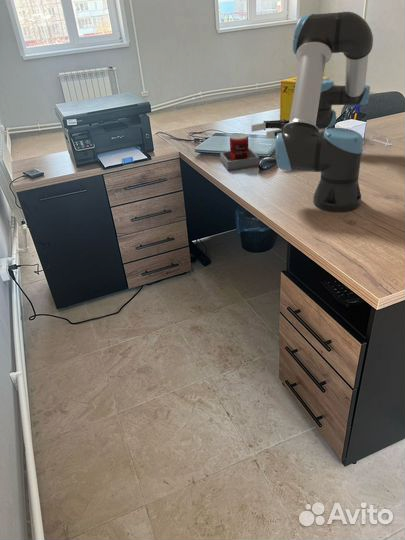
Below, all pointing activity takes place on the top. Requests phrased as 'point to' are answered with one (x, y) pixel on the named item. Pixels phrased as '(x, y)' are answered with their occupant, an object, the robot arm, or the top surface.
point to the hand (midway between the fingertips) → (259, 131)
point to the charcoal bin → (239, 161)
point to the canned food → (239, 146)
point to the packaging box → (289, 98)
